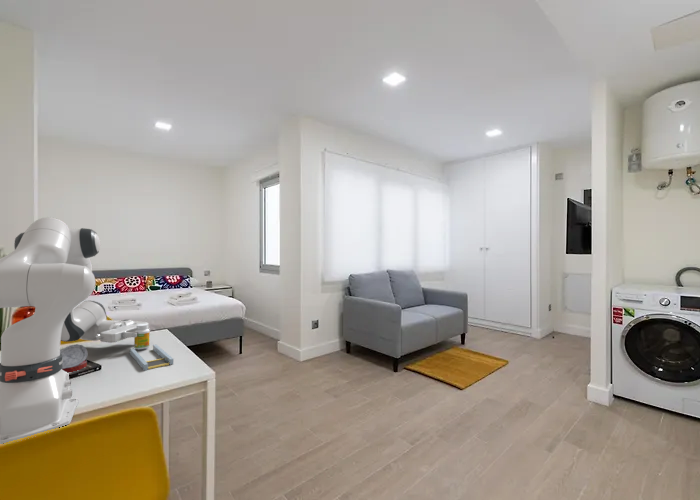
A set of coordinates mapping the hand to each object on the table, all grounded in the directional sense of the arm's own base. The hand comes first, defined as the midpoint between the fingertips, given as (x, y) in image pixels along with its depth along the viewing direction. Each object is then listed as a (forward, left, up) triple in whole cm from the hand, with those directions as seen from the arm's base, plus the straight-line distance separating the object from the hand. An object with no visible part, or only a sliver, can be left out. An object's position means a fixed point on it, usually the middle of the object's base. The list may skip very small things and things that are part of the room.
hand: (143, 332), depth 138 cm
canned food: (-11, +25, -7) cm, 28 cm away
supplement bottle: (0, 0, -7) cm, 7 cm away
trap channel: (-15, +1, -7) cm, 17 cm away
